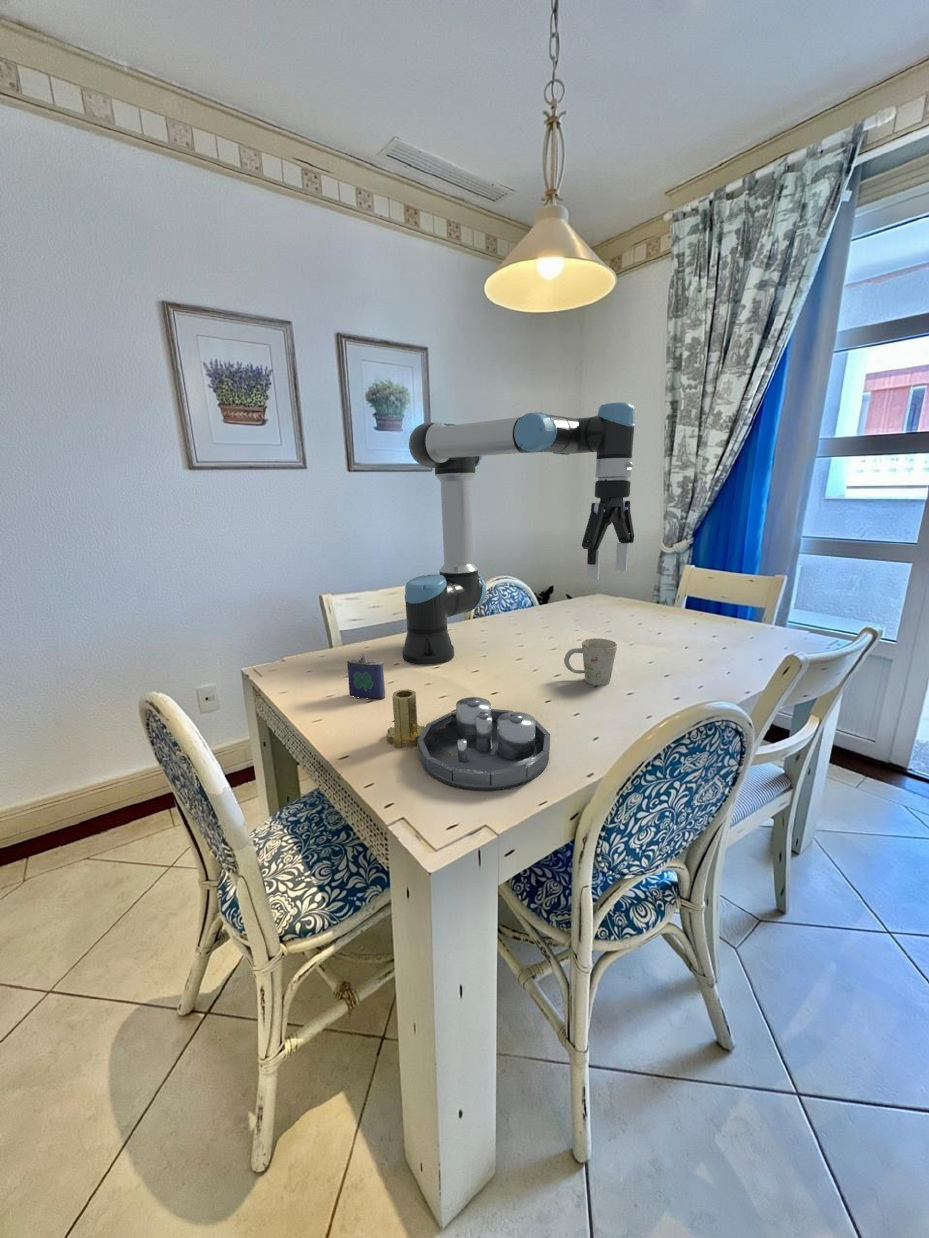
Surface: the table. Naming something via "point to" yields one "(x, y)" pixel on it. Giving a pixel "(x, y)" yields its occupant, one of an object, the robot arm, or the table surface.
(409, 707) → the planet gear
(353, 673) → the flask
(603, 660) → the mug
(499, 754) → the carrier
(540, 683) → the table surface
